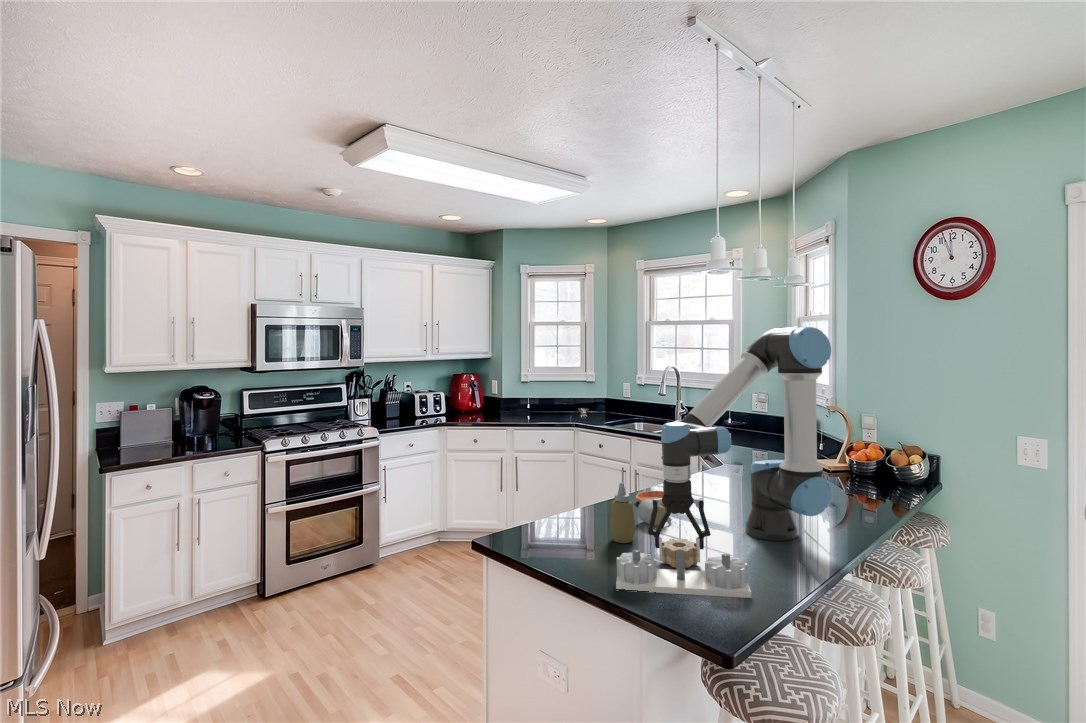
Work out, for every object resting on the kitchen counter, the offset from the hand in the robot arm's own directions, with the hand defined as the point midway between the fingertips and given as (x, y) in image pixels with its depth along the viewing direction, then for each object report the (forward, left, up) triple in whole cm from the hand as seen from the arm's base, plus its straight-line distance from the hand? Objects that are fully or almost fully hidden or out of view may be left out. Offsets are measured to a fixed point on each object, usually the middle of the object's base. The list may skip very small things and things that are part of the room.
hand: (679, 559), depth 154 cm
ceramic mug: (+6, -35, -2) cm, 35 cm away
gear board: (0, +13, -1) cm, 13 cm away
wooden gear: (0, 0, 0) cm, 0 cm away
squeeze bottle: (+16, -17, -1) cm, 24 cm away
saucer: (+5, -59, -2) cm, 59 cm away
